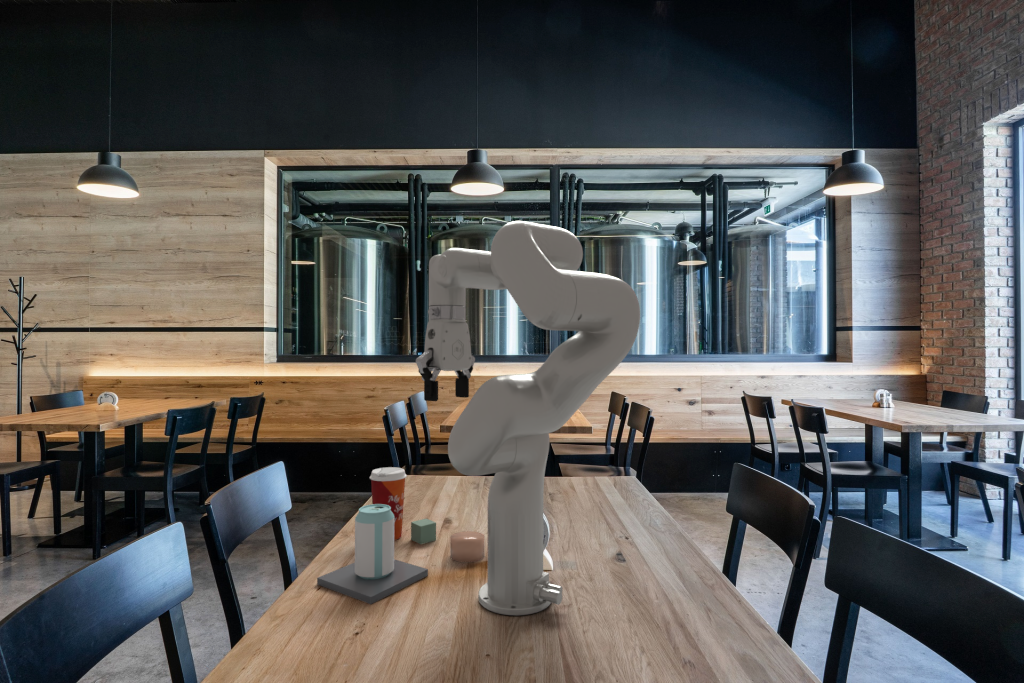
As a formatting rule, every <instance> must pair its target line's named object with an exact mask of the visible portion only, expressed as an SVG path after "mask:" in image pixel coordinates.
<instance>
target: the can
mask: <svg viewBox="0 0 1024 683" xmlns="http://www.w3.org/2000/svg"><path fill="white" fill-rule="evenodd" d="M354 518H355V519H354V563H355V573H356V574H357V575H358V576H360V577H361V578H363V579H370V580H372V579H380V578H383V577H386V576H387V575H389V574H390V573H391V572H392V571H393V570H394V559H395V540H394V514H393V513H392V511H391V507H390V506H389V505H385V504H372V503H371V504H367V505H364V506H361V507H360V508H358V513H357V515H356V516H355V517H354Z"/></svg>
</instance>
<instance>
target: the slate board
mask: <svg viewBox="0 0 1024 683" xmlns="http://www.w3.org/2000/svg"><path fill="white" fill-rule="evenodd" d="M428 576H429V569H428V568H426V567H422V566H419V565H415V564H412V563H409V562H405V561H402V560H398V559H395V558H394V570H393V571H392V572H391V573H390V574H389V575H387V576H386V577H383V578H380V579H372V580H370V579H363V578H361V577H360V576H358V575H357V574H356V573H355V562H352V563H350V564H348V565H346V566H342V567H340V568H338V569H335V570H333V571H330V572H328V573H326V574H323V575H320V576H318V577H316V582H317V583H316V585H318V586H321V587H323V588H325V589H328V590H331V591H334V592H336V593H340V594H342V595H345V596H347V597H350V598H353V599H355V600H359V601H360V602H361V601H362V602H364V603H367V604H369V605H373V604H374V603H377V602H378V601H381V600H382V599H384V598H386V597H388V596H390V595H392V594H395V593H396V592H398V591H400V590H402V589H404V588H406V587H408V586H410V585H412V584H414V583H416V582H418V581H420V580H423V579H424V578H426V577H428Z"/></svg>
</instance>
